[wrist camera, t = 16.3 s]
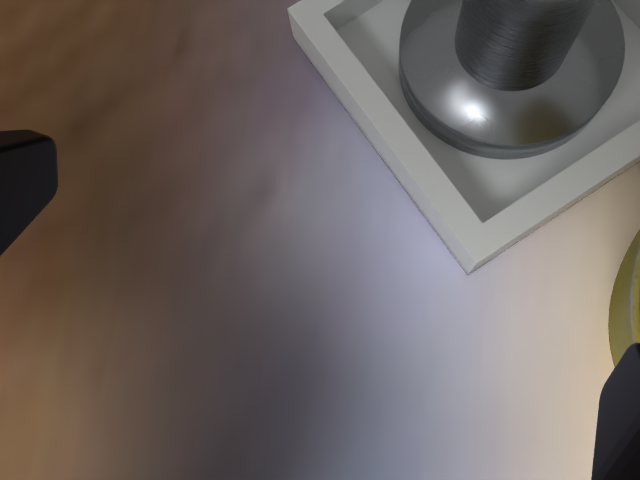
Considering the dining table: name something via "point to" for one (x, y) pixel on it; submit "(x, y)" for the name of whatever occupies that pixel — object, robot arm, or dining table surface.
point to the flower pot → (625, 303)
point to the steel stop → (509, 71)
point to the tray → (448, 162)
